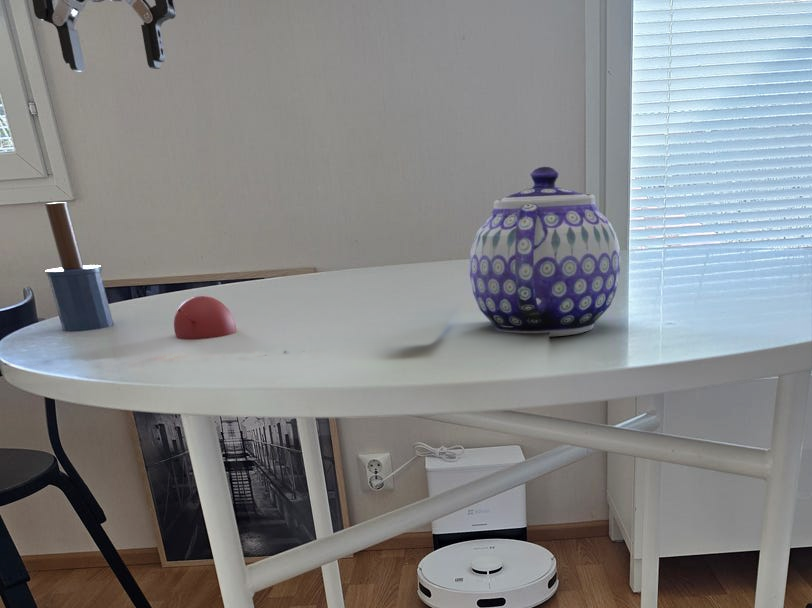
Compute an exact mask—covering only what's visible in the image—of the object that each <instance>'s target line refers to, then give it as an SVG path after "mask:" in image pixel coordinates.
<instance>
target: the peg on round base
mask: <svg viewBox="0 0 812 608" xmlns="http://www.w3.org/2000/svg"><path fill="white" fill-rule="evenodd" d="M44 207H45V209H46V214H47V217H48V220H49V224H50V229H51V232H52V235H53V240H54V242H55V247H56V251H57V254H58V257H59V262H60V265H61V267H56V268H50V269H46V270H45V275H46V277H48V276H51V277H55V276H72V275H82V274H90V273H96V272H102V271H103V269H102V266H101V265H98V264H96V265H95V264H93V265H92V264H89V265H84V262H83V259H82V255H81V251H80V247H79V243H78V239H77V237H76V236H77V235H76V232H75V228H74V225H73V220H72V216H71V212H70V210H69V205H68V202H66V201H64V202H48V203H44Z"/></svg>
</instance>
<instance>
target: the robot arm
mask: <svg viewBox="0 0 812 608" xmlns="http://www.w3.org/2000/svg"><path fill="white" fill-rule="evenodd" d="M88 1H89V2H92V3H101V2H104V1H105V0H57V3H56V4H55V0H32V7H33V13H34V16H35V17H36V19H38V20H41V21H45V22H47V23H48V24H51V25H53V26H54V27H55V28H56V31H57V34H58V40H59V44H60V50H61V54H62V58H63V60H64V62H65V64H66V65H68V66H69V68H70V69H71V70H72V71H74V72H77V73H78V72H79V73H81V72H85V71H86V67H85V61H84V57H83V52H82V46H81V41H80V36H79V31H78V30H76V29H75V26H76V23H77V21H78V18H79V15H80V13H81V12H82V11H83V10H84V8H85V6H86V5H87V2H88ZM110 1H112V2H123V0H110ZM125 2H126V3H127V4H128V5H129V6H130V7H131V8H132V9H133V11H134V12H135V13H136V15H138V17H139V18H140V19H141V20H142V21H143V24H140V26H141V33H142V39H143V44H144V51H145V57H146V63H147V66H148V68H150V69H153V70H161V69H162V63H165V59H166V54H165V53H166V52H165V48H164V41H163V35H162V28H161V27H162V24H163V23H165V22H167V21H168V20H173V19H175V18H176V16H177V9H176V5H175V1H174V0H154V2H155V5H153V6H152V5H151V4H150V2H149V1H148V0H125Z"/></svg>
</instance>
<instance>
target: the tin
mask: <svg viewBox="0 0 812 608" xmlns="http://www.w3.org/2000/svg"><path fill="white" fill-rule="evenodd" d="M101 272H102V271H100V272H96V273H90V274H82V275H72V276H55V277H51V276H47V278H48V282H49V285H50V289H51V292H52V296H53V300H54V303H55V308H56V310H57V314H58V317H59V321H60V324H61V328H62V331H63V332H87V331H94V330H102V329H105V328H110V327H112V326H114V319H113V316H112V313H111V309H110V304H109V300H108V296H107V293H106V288H105V285H104V280H103V277H102V273H101Z"/></svg>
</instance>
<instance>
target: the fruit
mask: <svg viewBox="0 0 812 608" xmlns="http://www.w3.org/2000/svg"><path fill="white" fill-rule="evenodd" d="M173 329H174V333H175V334H174V335H175V337H176V339H178V340H187V341H188V340H206V339H215V338H221V337H225V336H231V335H233V334H235V333H237V325H236V321H235V319H234V315H233V314H232V312H231V311H230V309H229V308H228V307H227V306H226V305H225V304H224V303H223V302H222V301H220V300H218V299H216V298H215V297H211V296H209V295H208V296H207V295H197V296H196V295H195V296H193V297H189V298H188V299H186V300H184V301H183V302H182V303H181V304H180V305H179V307H178V308H177V310H176V312H175V315H174V319H173Z"/></svg>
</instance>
